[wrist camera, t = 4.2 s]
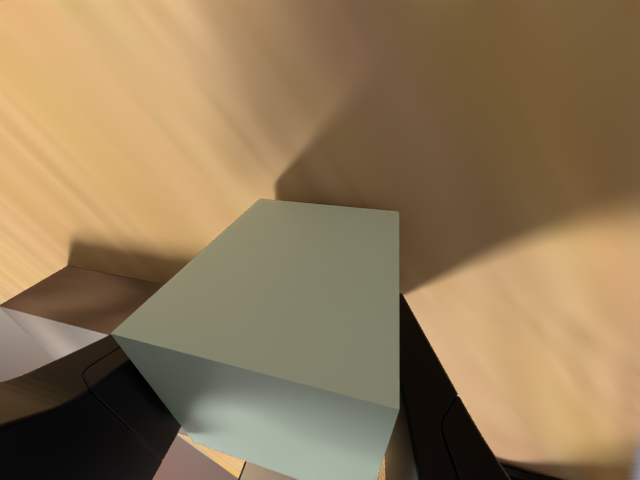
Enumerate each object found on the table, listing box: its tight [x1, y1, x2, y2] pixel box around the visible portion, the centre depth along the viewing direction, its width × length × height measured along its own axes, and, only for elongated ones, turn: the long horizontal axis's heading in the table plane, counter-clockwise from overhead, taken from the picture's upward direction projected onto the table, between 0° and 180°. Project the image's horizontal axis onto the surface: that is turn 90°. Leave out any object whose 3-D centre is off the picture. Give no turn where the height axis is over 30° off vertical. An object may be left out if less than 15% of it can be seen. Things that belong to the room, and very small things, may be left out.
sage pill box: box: [110, 199, 399, 480], centre depth 8 cm, size 5×5×6 cm
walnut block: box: [0, 266, 188, 436], centre depth 17 cm, size 12×12×4 cm
